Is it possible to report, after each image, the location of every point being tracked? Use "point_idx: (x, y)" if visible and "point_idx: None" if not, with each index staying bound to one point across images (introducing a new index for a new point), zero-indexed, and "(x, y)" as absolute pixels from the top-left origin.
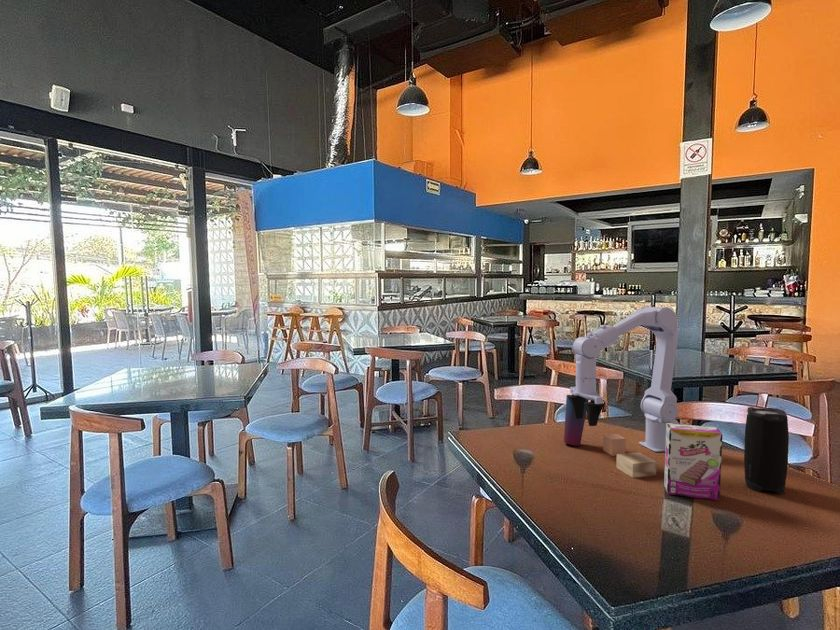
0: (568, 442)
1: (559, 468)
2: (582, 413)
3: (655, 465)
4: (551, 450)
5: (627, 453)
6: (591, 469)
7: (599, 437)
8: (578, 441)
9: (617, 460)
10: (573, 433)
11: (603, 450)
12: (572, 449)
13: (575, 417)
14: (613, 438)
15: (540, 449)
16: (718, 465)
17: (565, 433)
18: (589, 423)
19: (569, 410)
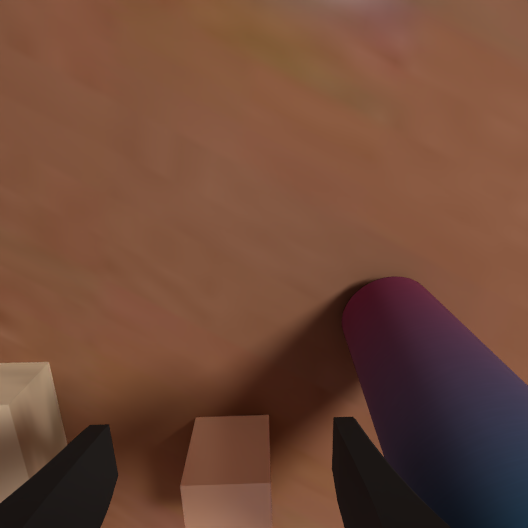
0: (367, 289)
1: (38, 59)
2: (344, 514)
3: None
4: (330, 153)
5: (19, 457)
6: (23, 236)
7: None
8: (347, 343)
9: (18, 384)
10: (368, 342)
11: (266, 415)
12: (316, 281)
13: (347, 422)
14: (195, 499)
15: (365, 87)
16: None
17: (417, 304)
18: (77, 438)
19: (499, 452)
